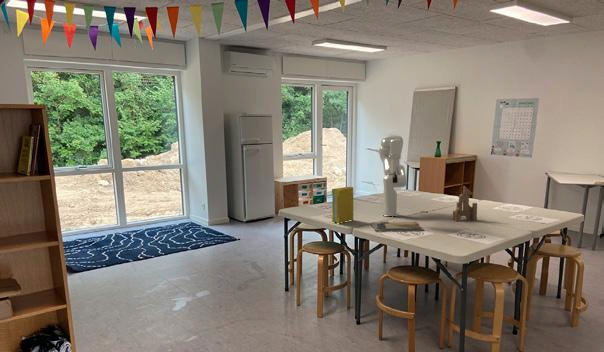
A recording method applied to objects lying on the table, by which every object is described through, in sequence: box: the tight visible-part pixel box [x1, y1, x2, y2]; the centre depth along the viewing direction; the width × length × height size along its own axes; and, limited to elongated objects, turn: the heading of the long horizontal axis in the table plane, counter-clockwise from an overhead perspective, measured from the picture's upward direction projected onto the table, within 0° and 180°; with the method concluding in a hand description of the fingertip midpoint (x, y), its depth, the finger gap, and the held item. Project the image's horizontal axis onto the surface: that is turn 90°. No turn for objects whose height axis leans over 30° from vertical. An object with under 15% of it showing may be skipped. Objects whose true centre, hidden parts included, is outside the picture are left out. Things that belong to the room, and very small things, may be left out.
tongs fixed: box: [377, 222, 420, 230], centre depth 273 cm, size 5×27×4 cm, turn 90°
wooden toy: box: [452, 185, 478, 222], centre depth 295 cm, size 16×7×25 cm, turn 90°
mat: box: [370, 222, 425, 232], centre depth 280 cm, size 22×32×1 cm
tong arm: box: [377, 221, 419, 225], centre depth 274 cm, size 6×27×4 cm, turn 89°
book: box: [331, 186, 354, 224], centre depth 298 cm, size 17×7×25 cm, turn 126°
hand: (395, 182), depth 290 cm, fingers closed
